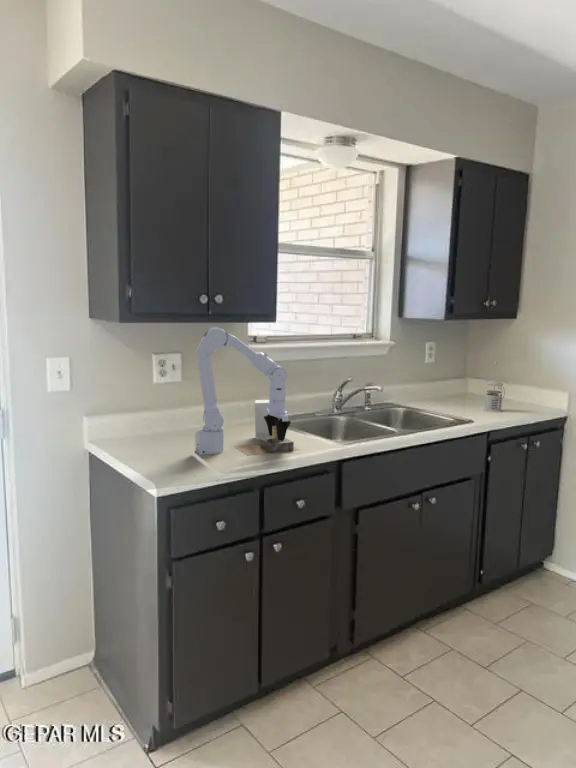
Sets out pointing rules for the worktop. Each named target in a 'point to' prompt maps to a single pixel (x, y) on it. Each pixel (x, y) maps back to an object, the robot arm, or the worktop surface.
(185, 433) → the worktop surface
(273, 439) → the birch peg
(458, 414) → the worktop surface
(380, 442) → the worktop surface
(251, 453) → the socket board
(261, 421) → the skincare box
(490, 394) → the french press
